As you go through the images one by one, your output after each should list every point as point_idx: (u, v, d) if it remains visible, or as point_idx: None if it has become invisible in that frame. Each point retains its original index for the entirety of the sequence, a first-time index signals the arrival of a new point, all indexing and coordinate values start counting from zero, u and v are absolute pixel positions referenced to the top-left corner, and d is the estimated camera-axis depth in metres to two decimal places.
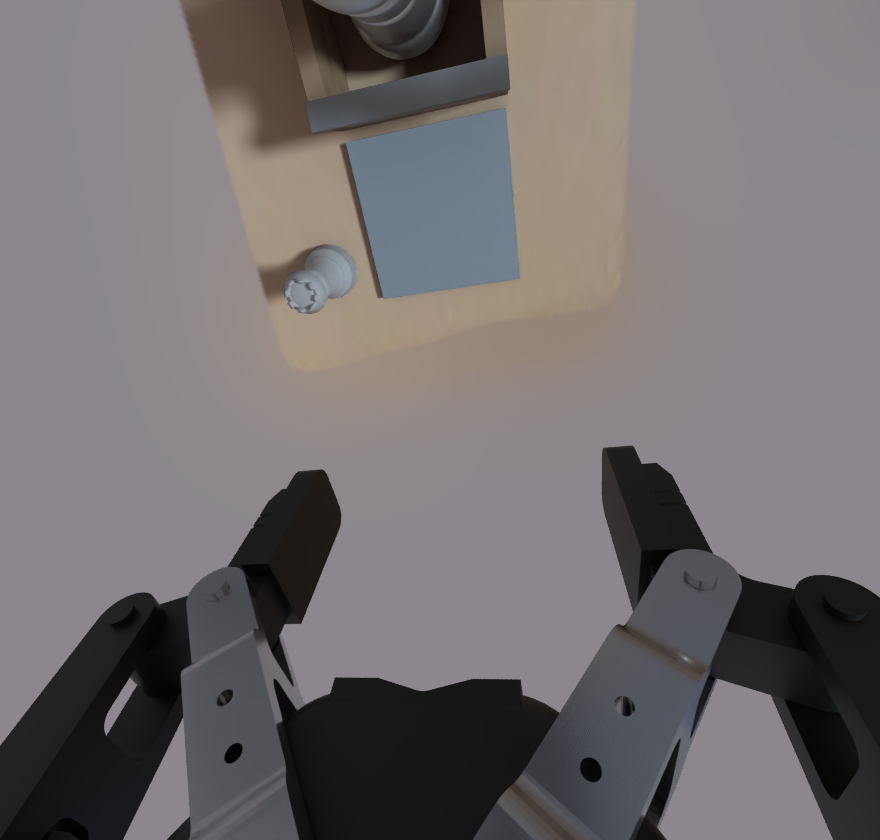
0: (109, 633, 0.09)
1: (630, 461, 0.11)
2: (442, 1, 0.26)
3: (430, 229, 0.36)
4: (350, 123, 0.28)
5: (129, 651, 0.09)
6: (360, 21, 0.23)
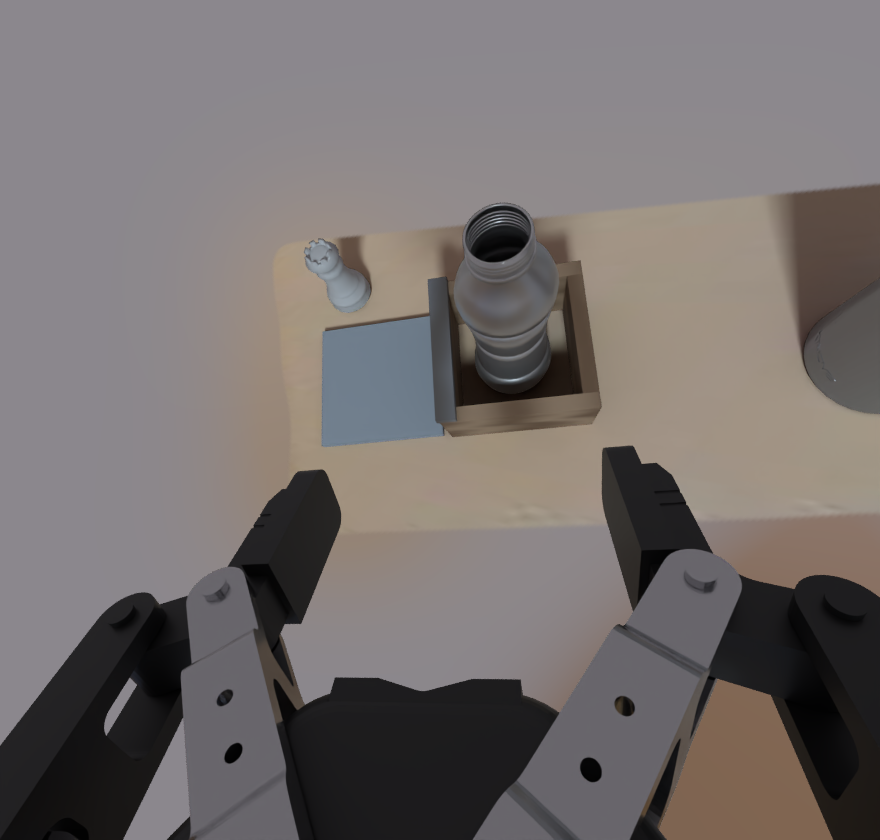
0: (109, 633, 0.09)
1: (630, 461, 0.11)
2: (498, 382, 0.37)
3: (369, 373, 0.44)
4: (429, 307, 0.37)
5: (130, 651, 0.09)
6: None
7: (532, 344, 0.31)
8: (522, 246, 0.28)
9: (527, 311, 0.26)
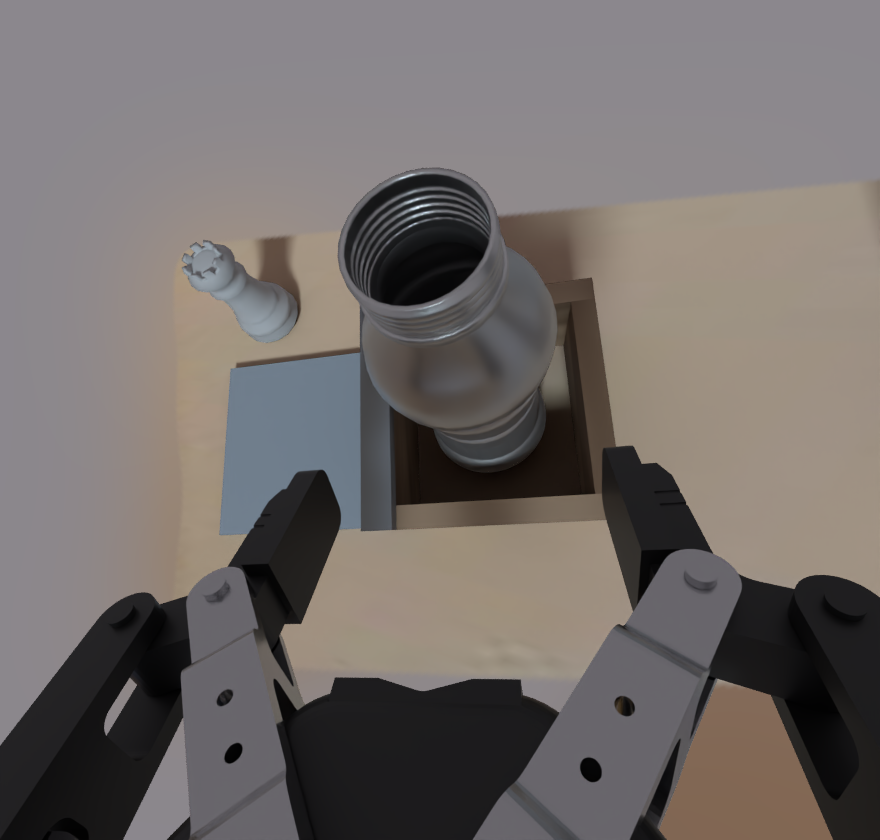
0: (109, 633, 0.09)
1: (630, 461, 0.11)
2: (465, 462, 0.25)
3: (289, 431, 0.31)
4: (361, 346, 0.24)
5: (129, 651, 0.09)
6: None
7: (512, 424, 0.18)
8: None
9: (493, 392, 0.13)
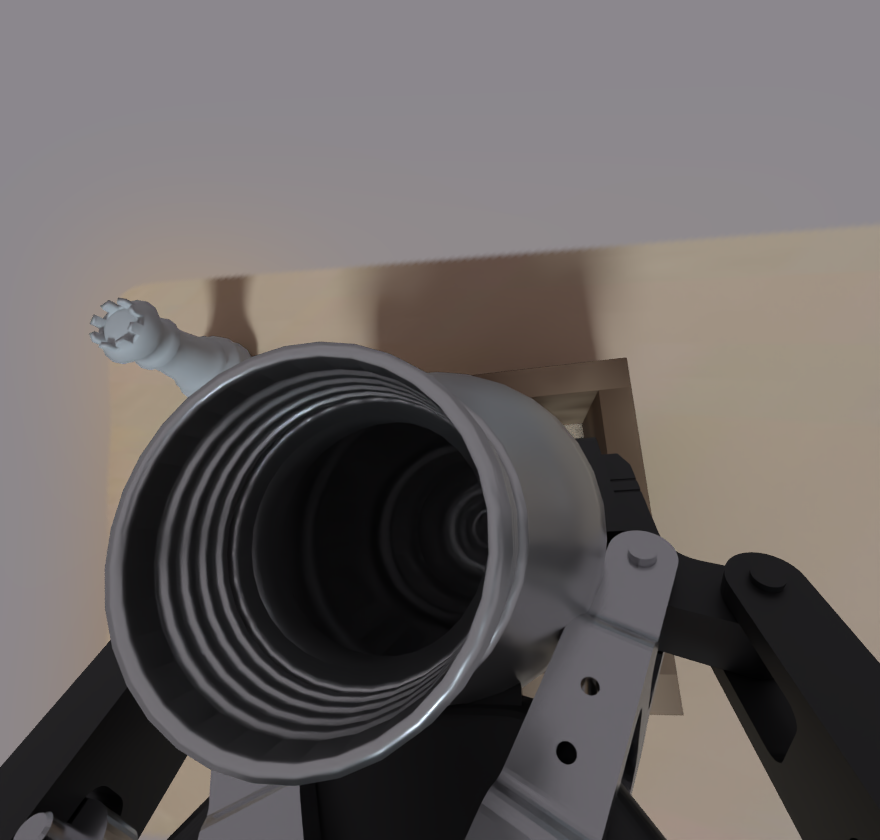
0: None
1: (591, 451, 0.11)
2: None
3: None
4: None
5: None
6: None
7: None
8: None
9: (495, 692, 0.07)
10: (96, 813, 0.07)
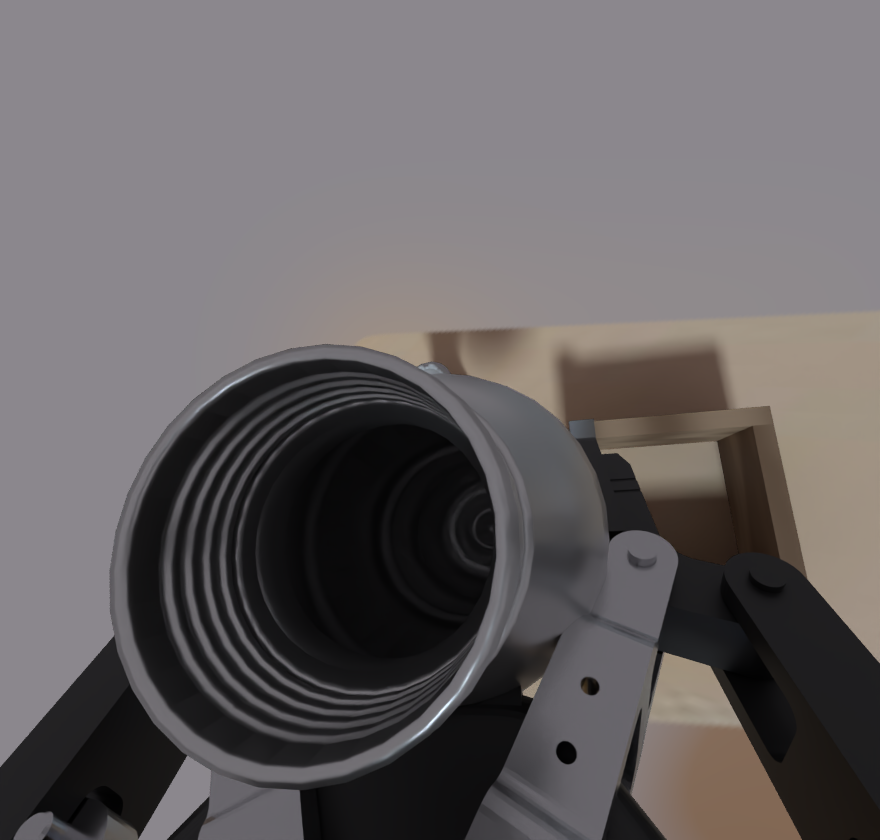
0: None
1: (591, 451, 0.11)
2: None
3: None
4: None
5: None
6: None
7: None
8: None
9: (498, 694, 0.07)
10: (96, 813, 0.07)
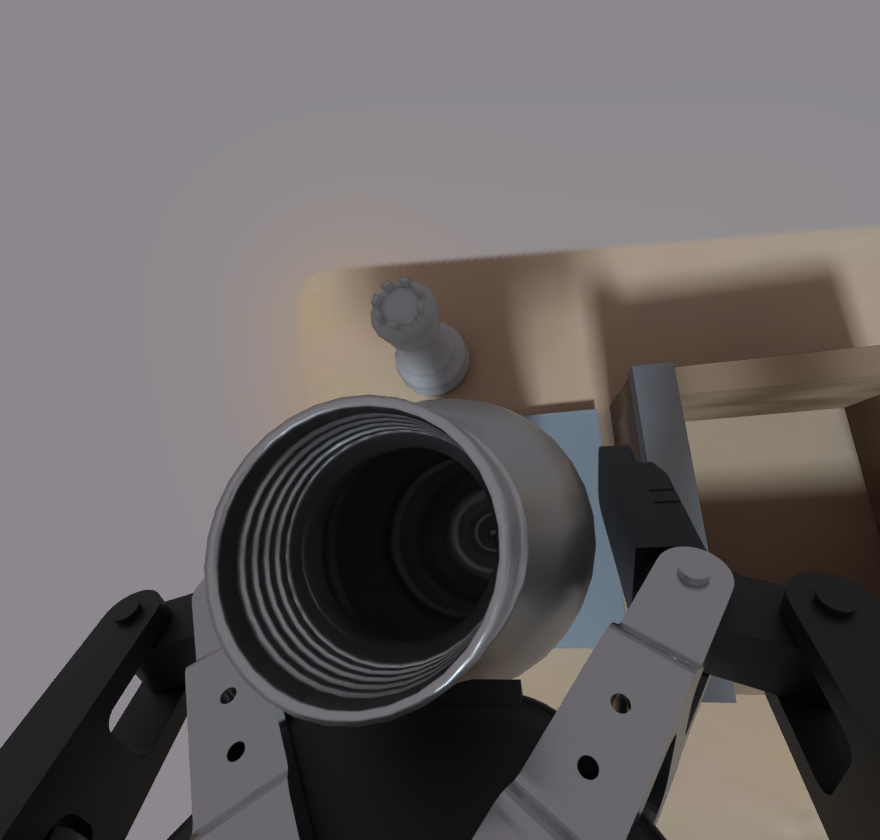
0: (115, 630, 0.09)
1: (625, 460, 0.11)
2: None
3: None
4: (642, 426, 0.18)
5: (134, 649, 0.09)
6: None
7: None
8: None
9: (499, 676, 0.08)
10: None
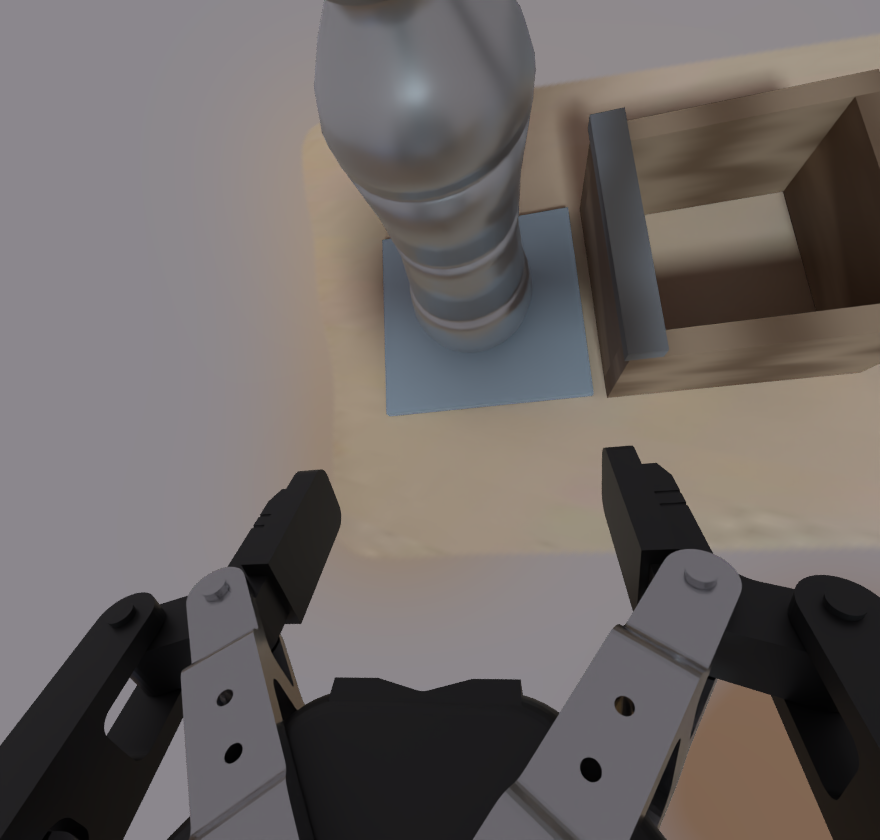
0: (109, 633, 0.09)
1: (630, 461, 0.11)
2: (444, 330, 0.23)
3: None
4: (597, 159, 0.21)
5: (129, 651, 0.09)
6: None
7: (490, 239, 0.17)
8: None
9: (459, 113, 0.11)
10: None
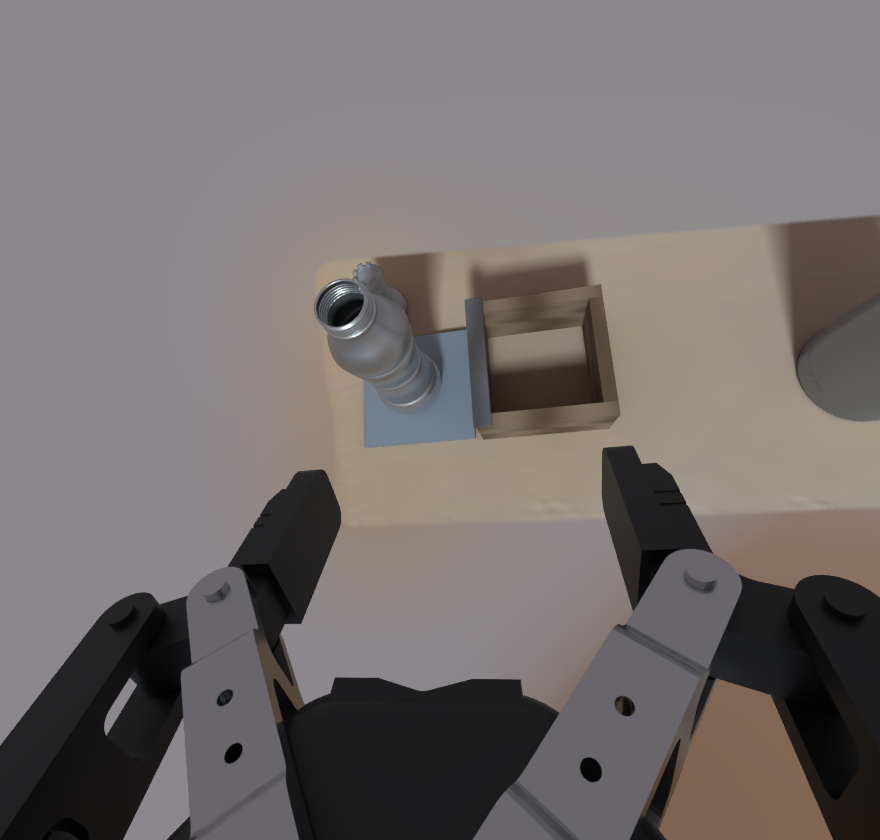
0: (109, 633, 0.09)
1: (630, 461, 0.11)
2: (392, 406, 0.44)
3: None
4: (466, 324, 0.42)
5: (129, 652, 0.09)
6: None
7: (403, 379, 0.38)
8: None
9: (378, 359, 0.32)
10: None
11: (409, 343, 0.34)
